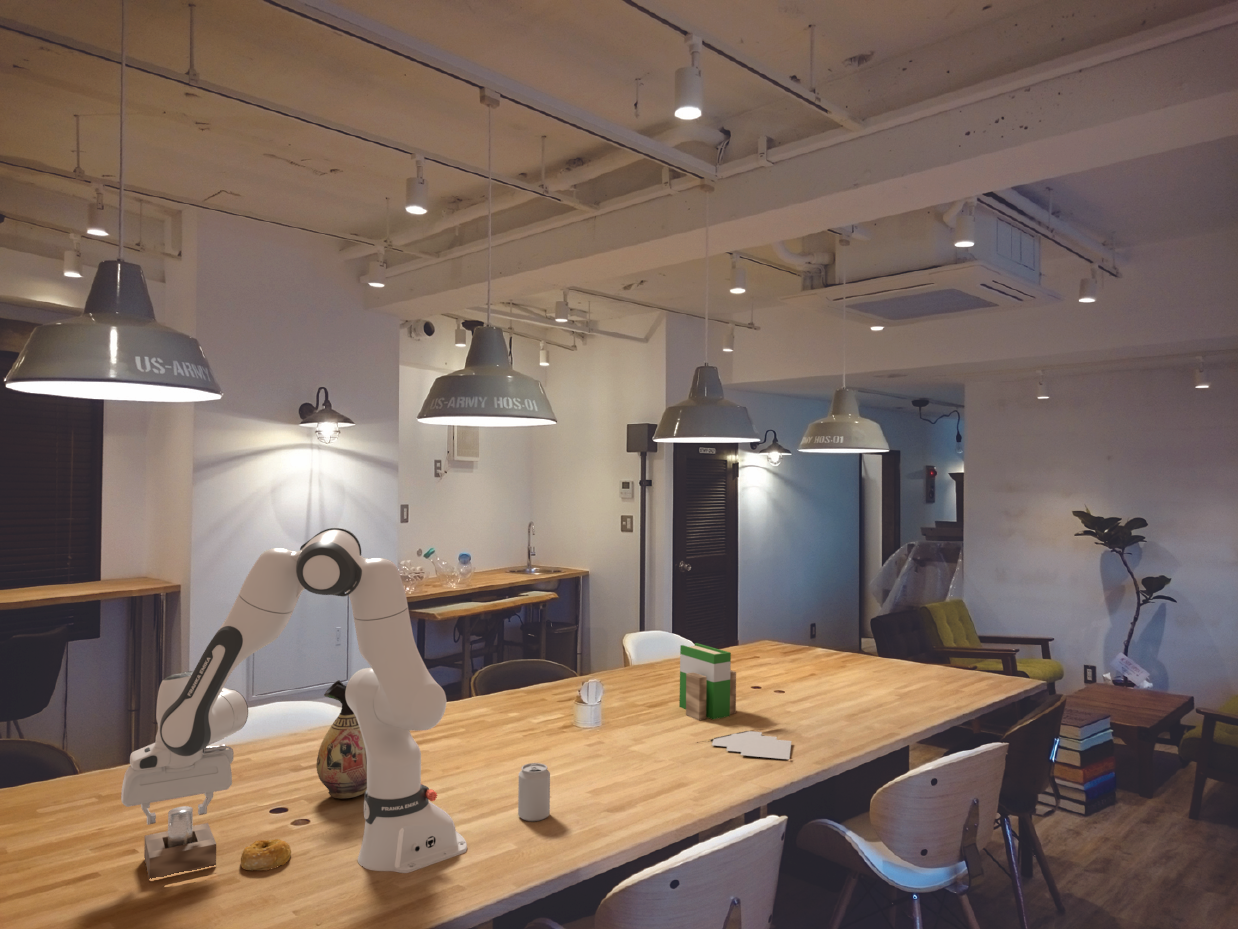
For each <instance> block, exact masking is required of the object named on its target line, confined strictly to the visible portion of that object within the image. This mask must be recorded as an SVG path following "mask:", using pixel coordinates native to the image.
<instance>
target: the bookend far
mask: <svg viewBox="0 0 1238 929" xmlns="http://www.w3.org/2000/svg"><path fill="white" fill-rule="evenodd" d="M736 711H737V671H734V670H730V715H733V714H736Z"/></svg>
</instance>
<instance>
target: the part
mask: <svg viewBox="0 0 1238 929" xmlns="http://www.w3.org/2000/svg"><path fill="white" fill-rule="evenodd" d="M193 809H194V808H193V807H192V806H188V805H187V806H185V805H184V806H178V807H174V808H171V809H170V810H168V812H167V814H168V815H167V816H168V817H167V825H168V826H167V831H168V848H171V847H176V846H180V845H185V844H190V843H192V826H194V825H193V824H194V823H193V815H194V813H193V812H194V810H193Z"/></svg>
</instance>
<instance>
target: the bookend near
mask: <svg viewBox="0 0 1238 929" xmlns="http://www.w3.org/2000/svg"><path fill="white" fill-rule="evenodd" d="M706 681H707V677H706V676H703V675H700V674H697V673H694V672H692V673H686V709H685V716H687V717H690V718H692V719H695V720H697V721H703V720H706V719H707V717H706Z"/></svg>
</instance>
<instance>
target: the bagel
mask: <svg viewBox="0 0 1238 929" xmlns="http://www.w3.org/2000/svg"><path fill="white" fill-rule="evenodd" d="M291 855H292V850H291V846H290V844H289V843H288V842H286V841H285V840H282V839H279V838H276V839H262V840H261V839H260V840H255V841H254V842H252V843H251V844H250V845H249V846H246V847H245V848H244V849H243V850H242V853H241V856H240V866H241V868H242V869H243V868H244V870H246V869H247V870H246V871H253V870H266V871H269V870H268V869H271V868H275V867H277V866H280V865H282V866H284V865H286V864H287V863H288V862H289V860H290V858H291ZM287 861H288V862H287ZM286 862H287V863H286ZM280 867H281V866H280ZM277 868H278V867H277ZM275 869H276V868H275ZM271 870H272V869H271Z"/></svg>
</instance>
